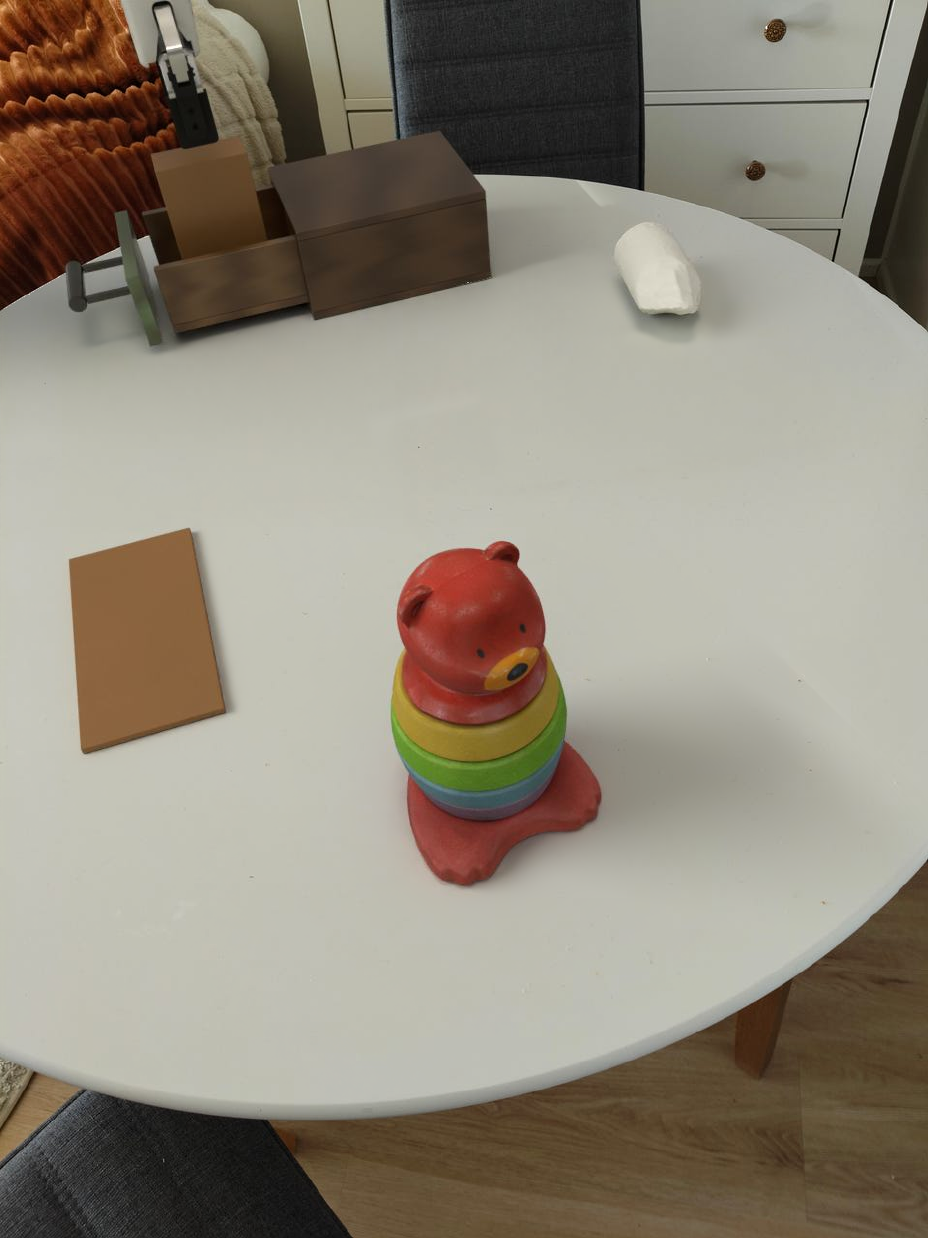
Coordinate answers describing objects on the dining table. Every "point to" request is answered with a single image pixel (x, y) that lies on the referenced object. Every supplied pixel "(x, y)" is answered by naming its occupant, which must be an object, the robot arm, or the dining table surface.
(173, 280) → the drawer
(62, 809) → the dining table surface
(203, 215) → the upright tan wooden block
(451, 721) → the stacking bear
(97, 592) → the mat
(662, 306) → the roll
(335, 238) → the cabinet
